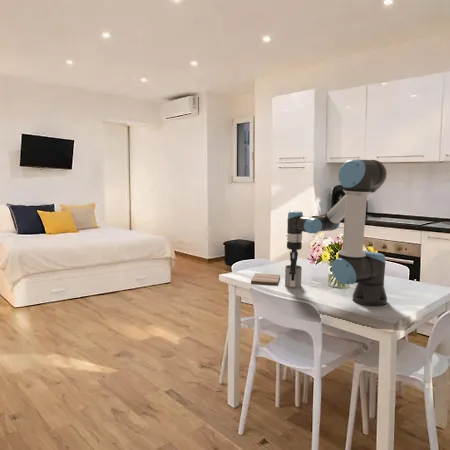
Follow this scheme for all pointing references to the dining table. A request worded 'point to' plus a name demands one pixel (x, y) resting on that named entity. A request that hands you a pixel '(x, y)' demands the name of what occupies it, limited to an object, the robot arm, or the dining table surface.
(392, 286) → the dining table surface
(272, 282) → the walnut board
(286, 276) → the cup
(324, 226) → the robot arm
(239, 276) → the dining table surface
